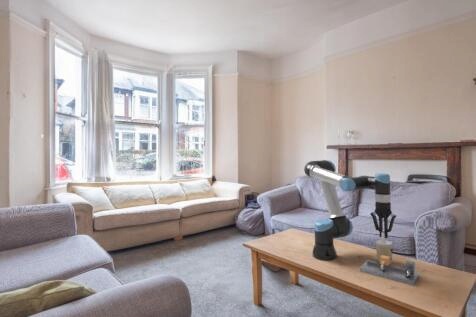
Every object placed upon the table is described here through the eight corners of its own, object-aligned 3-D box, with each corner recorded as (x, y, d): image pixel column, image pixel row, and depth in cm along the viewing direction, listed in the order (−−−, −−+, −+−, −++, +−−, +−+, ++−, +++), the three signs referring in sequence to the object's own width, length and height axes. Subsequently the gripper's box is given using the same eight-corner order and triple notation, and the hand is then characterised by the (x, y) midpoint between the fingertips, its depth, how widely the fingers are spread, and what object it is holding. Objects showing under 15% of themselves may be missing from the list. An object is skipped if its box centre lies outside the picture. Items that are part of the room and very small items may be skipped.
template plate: (360, 271, 151) (359, 257, 151) (367, 263, 161) (366, 250, 161) (414, 285, 134) (413, 269, 134) (418, 275, 143) (418, 261, 143)
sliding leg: (378, 269, 148) (377, 259, 147) (381, 264, 153) (381, 255, 153) (386, 271, 145) (385, 261, 145) (389, 266, 151) (389, 256, 150)
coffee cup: (395, 265, 157) (395, 245, 157) (378, 264, 159) (378, 244, 159) (390, 258, 166) (389, 239, 166) (373, 258, 168) (373, 239, 168)
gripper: (368, 201, 149) (369, 242, 150) (394, 203, 140) (395, 248, 141) (372, 199, 155) (373, 239, 155) (397, 201, 146) (398, 244, 147)
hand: (383, 243), depth 148 cm, fingers closed
